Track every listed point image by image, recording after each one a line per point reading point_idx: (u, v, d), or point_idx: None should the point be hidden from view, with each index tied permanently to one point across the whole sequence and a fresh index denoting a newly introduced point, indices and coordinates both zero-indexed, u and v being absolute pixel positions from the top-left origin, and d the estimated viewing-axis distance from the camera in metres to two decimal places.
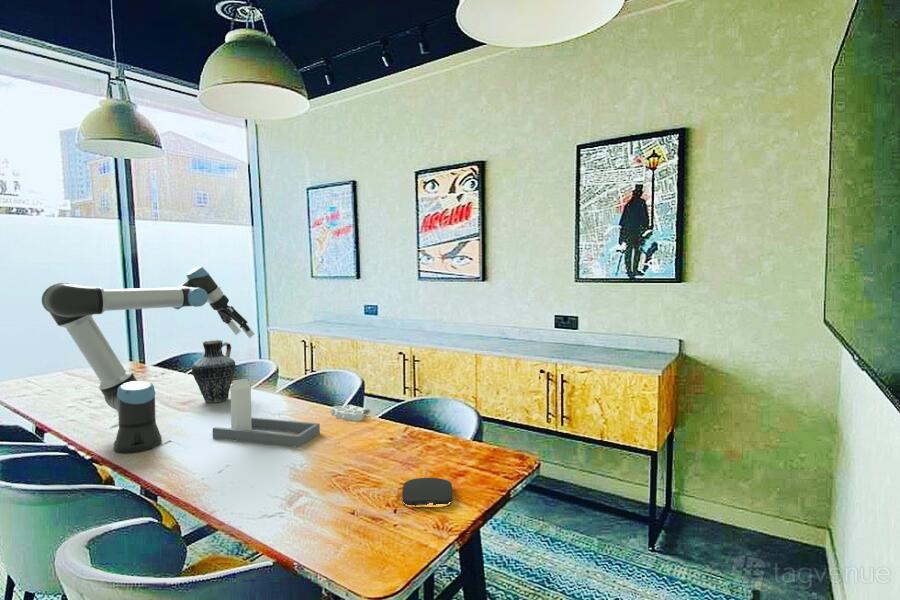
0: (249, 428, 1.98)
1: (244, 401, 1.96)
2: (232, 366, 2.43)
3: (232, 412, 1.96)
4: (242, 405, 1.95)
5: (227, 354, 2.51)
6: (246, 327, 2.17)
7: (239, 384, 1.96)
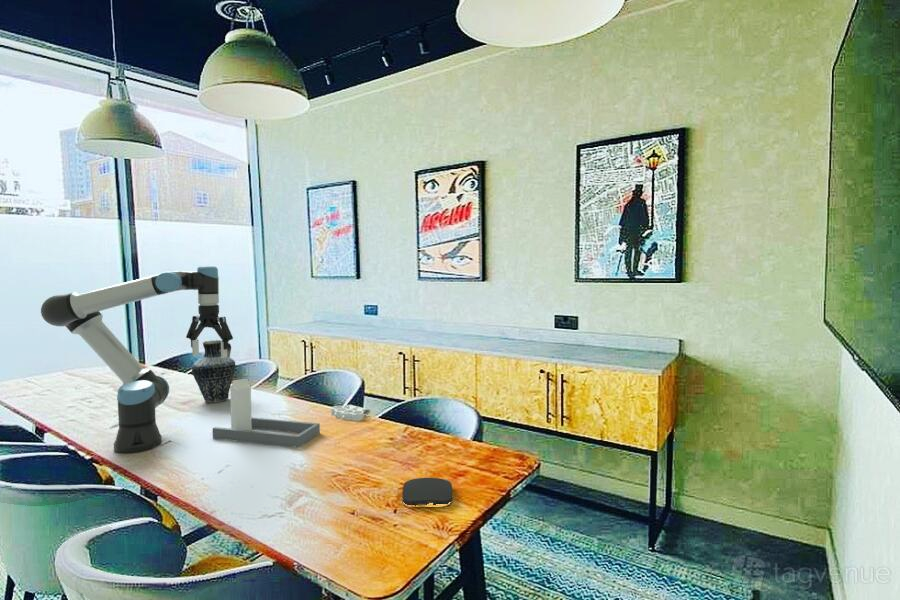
0: (249, 428, 1.98)
1: (244, 401, 1.96)
2: (232, 366, 2.43)
3: (232, 412, 1.96)
4: (242, 405, 1.95)
5: (227, 354, 2.51)
6: (227, 344, 1.98)
7: (239, 384, 1.96)
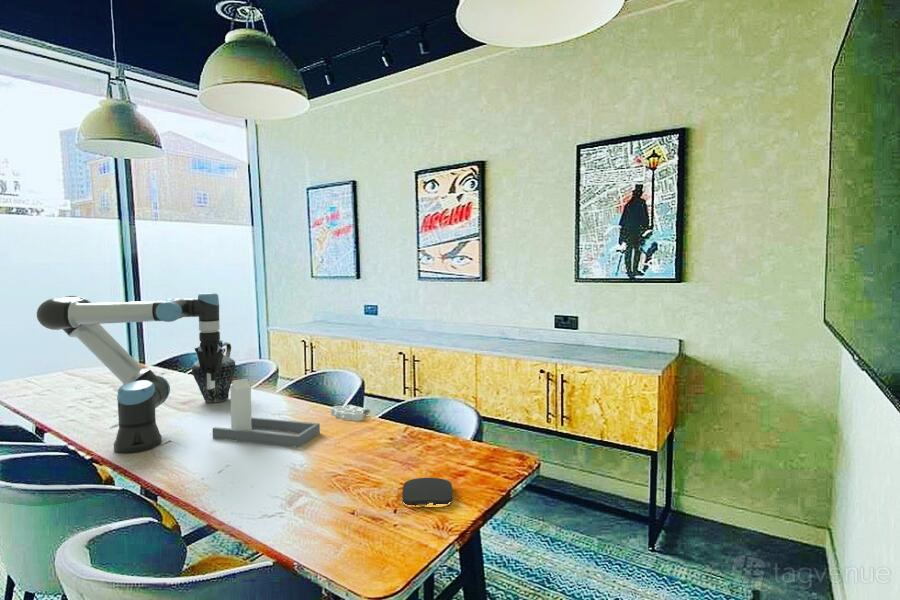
0: (249, 428, 1.98)
1: (244, 401, 1.96)
2: (232, 366, 2.43)
3: (232, 412, 1.96)
4: (242, 405, 1.95)
5: (227, 354, 2.51)
6: (214, 375, 2.00)
7: (239, 384, 1.96)
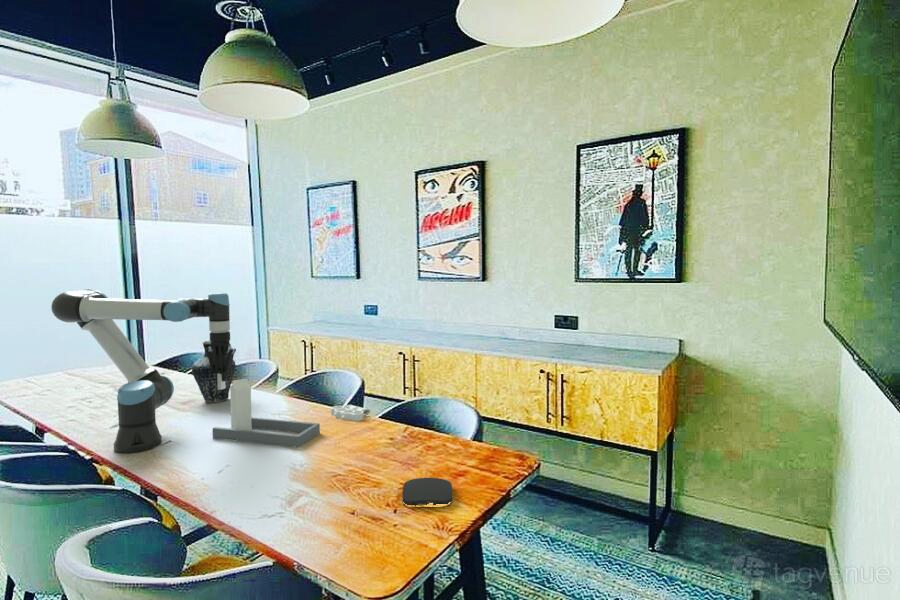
0: (249, 428, 1.98)
1: (244, 401, 1.96)
2: (232, 366, 2.43)
3: (232, 412, 1.96)
4: (242, 405, 1.95)
5: None
6: (225, 376, 1.99)
7: (239, 384, 1.96)
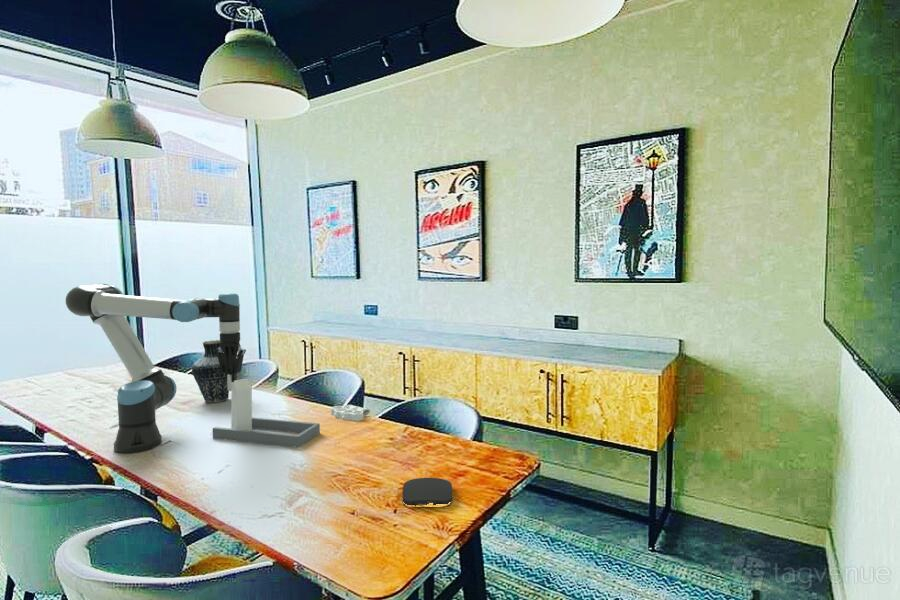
0: (249, 428, 1.98)
1: (245, 401, 1.96)
2: None
3: (233, 411, 1.96)
4: (242, 405, 1.95)
5: None
6: (235, 377, 1.97)
7: (240, 384, 1.96)
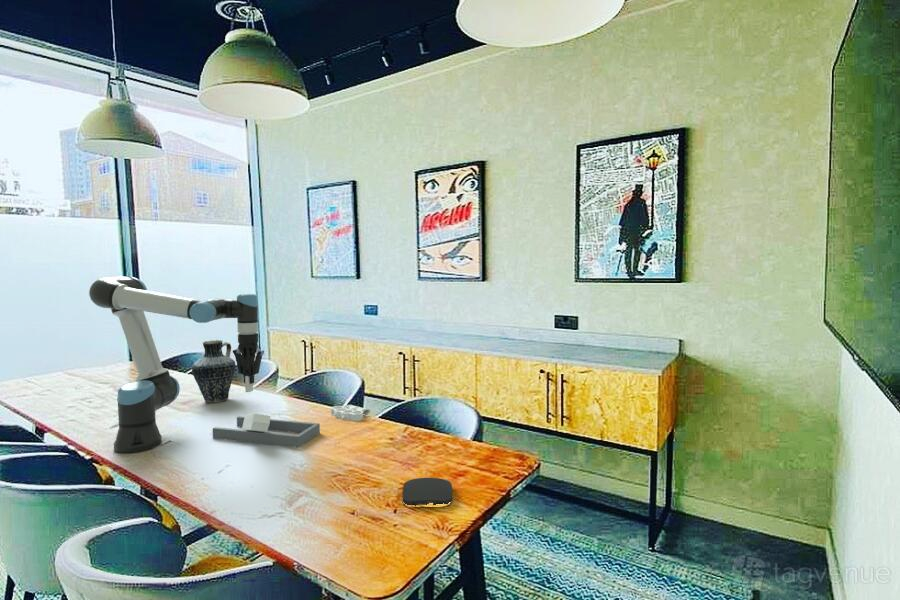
0: None
1: None
2: (232, 366, 2.43)
3: (247, 419, 1.91)
4: None
5: (227, 354, 2.51)
6: (253, 378, 1.95)
7: (259, 424, 1.83)
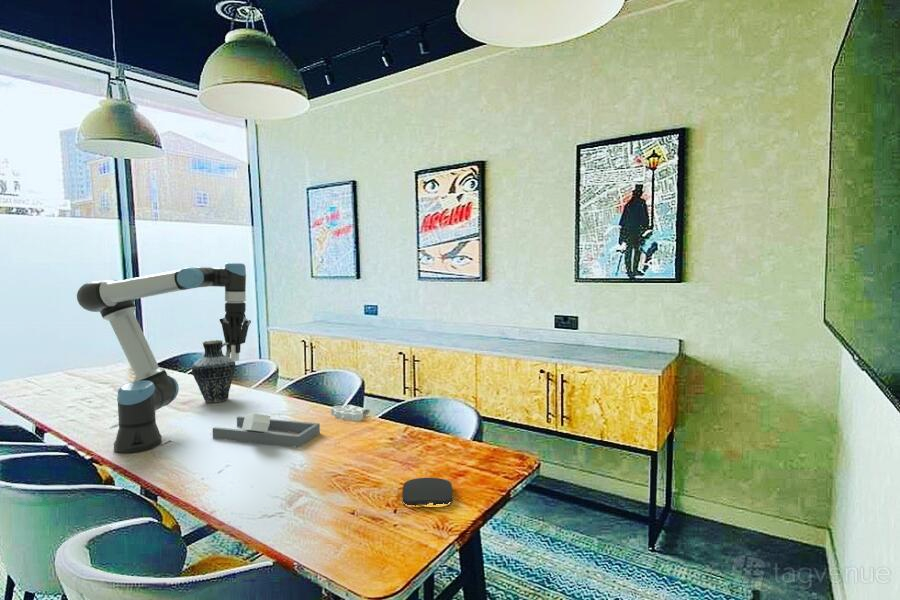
0: None
1: None
2: (232, 366, 2.43)
3: (247, 419, 1.91)
4: None
5: (227, 354, 2.51)
6: (239, 348, 1.95)
7: (259, 424, 1.83)
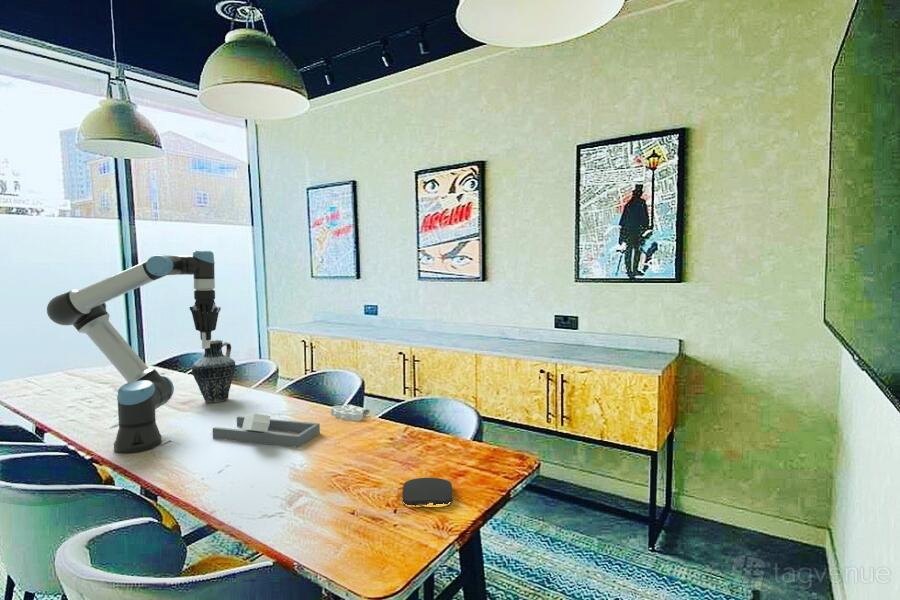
0: None
1: None
2: (232, 366, 2.43)
3: (247, 419, 1.91)
4: None
5: (227, 354, 2.51)
6: (209, 335, 1.97)
7: (259, 424, 1.83)
